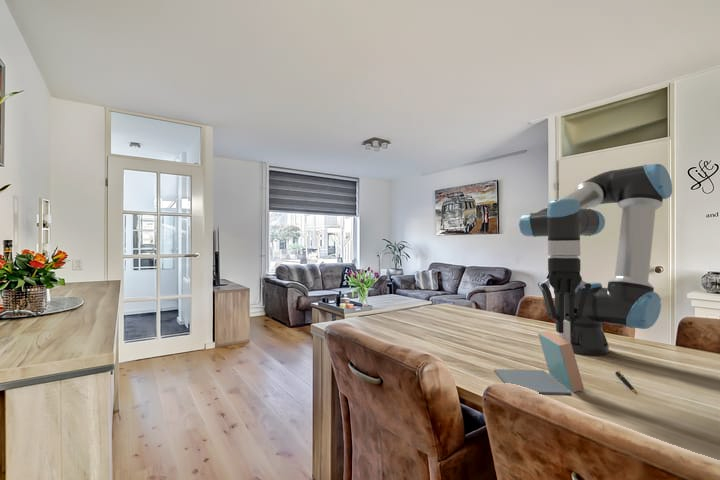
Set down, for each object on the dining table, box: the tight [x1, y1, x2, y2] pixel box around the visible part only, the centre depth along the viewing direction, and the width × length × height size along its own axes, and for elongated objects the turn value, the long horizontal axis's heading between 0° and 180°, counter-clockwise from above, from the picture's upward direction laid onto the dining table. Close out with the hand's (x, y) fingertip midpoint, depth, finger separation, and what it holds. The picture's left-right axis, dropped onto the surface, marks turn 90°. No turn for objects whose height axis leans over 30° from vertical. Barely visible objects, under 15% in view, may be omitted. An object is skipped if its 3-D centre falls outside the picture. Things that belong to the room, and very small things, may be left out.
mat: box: [493, 368, 572, 396], centre depth 93 cm, size 14×15×1 cm
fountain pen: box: [615, 370, 636, 393], centre depth 92 cm, size 14×1×2 cm, turn 159°
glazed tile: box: [537, 330, 585, 393], centre depth 92 cm, size 3×12×12 cm, turn 176°
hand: (564, 345), depth 92 cm, fingers closed
